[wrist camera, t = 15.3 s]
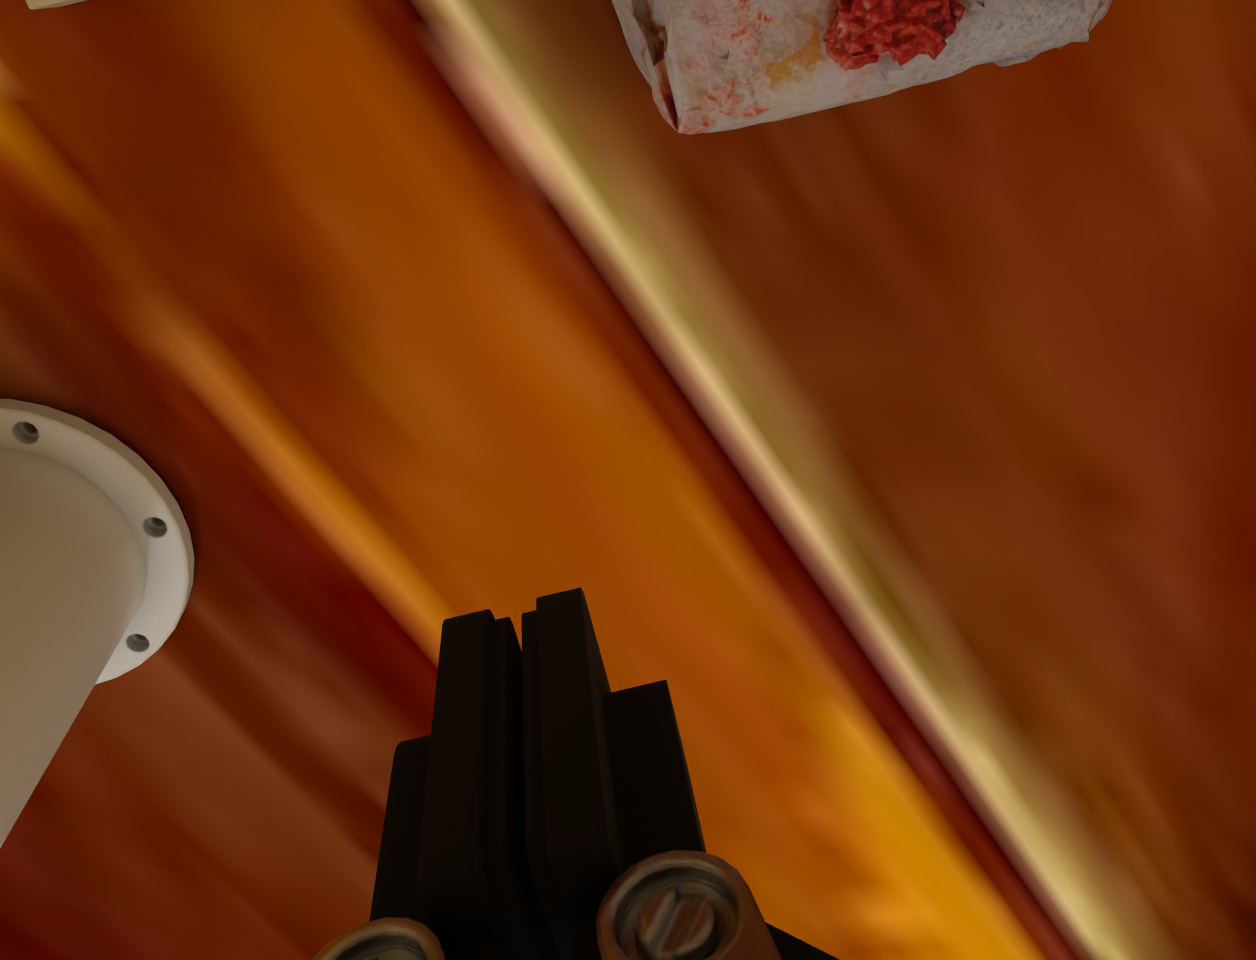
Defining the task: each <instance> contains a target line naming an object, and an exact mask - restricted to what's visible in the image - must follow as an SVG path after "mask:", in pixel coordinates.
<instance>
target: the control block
mask: <svg viewBox="0 0 1256 960" xmlns="http://www.w3.org/2000/svg"><path fill="white" fill-rule="evenodd" d="M82 1H87V0H26V2H27V5H28V7H29V8H30V9H43V8H53V7H61V6H66V5H70V4H74V3H78V2H82Z"/></svg>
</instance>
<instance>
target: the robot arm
mask: <svg viewBox="0 0 1256 960" xmlns="http://www.w3.org/2000/svg"><path fill="white" fill-rule="evenodd" d="M30 424H32V425H33V426H34V427H35V428H34V427H32V426H31V425H30ZM158 518H159V519H161V520H163V521H161V520H159V519H158ZM193 576H194V552H193V547H192V542H191V536H190V531H189V528H188V526H187V524H186V521H185V519H184V516H183V514H182V512H181V509H180V507H179V505H178V503H177V501H176V500H175V498H174V497H173V495H172V494H171V492H170V491H169V489H168V488H167V486H166V485H165V483H164V482H163V480H162V479H161V478H160V477H159V476H158V475H157V474H156V473H155V472H154V471H153V470H152V469H151V467H150V466H149V465H148V464H147V463H146V462H145V461H144V460H143V459H142V458H141V457H140V456H139V455H138V454H136V453H135V452H134V451H132V450H131V449H130V448H128V447H127V446H126V445H125V444H123V443H122V442H121V441H119V440H118V439H117V438H115V437H114V436H113V435H111V434H109V433H107V432H106V431H104V430H102V429H100V428H98V427H96V426H94V425H92V424H91V423H89V422H87V421H85V420H83V419H81V418H79V417H76V416H73V415H71V414H68V413H65V412H62V411H59V410H57V409H54V408H51V407H48V406H45V405H40V404H34V403H29V402H24V401H19V400H14V399H0V848H1V846H2V844H3V842H4V841H5V839H6V837H7V835H8V834H9V832H10V830H11V829H12V827H13V825H14V823H15V822H16V820H17V818H18V816H19V815H20V813H21V811H22V810H23V808H24V806H25V804H26V803H27V801H28V799H29V797H30V796H31V794H32V792H33V791H34V789H35V787H36V785H37V784H38V782H39V780H40V778H41V777H42V775H43V773H44V771H45V770H46V768H47V766H48V765H49V763H50V761H51V759H52V758H53V756H54V754H55V752H56V751H57V749H58V747H59V746H60V744H61V742H62V740H63V739H64V737H65V735H66V733H67V732H68V730H69V728H70V727H71V725H72V723H73V721H74V720H75V718H76V716H77V714H78V713H79V711H80V709H81V707H82V706H83V704H84V702H85V701H86V699H87V697H88V695H89V694H90V692H91V690H92V688H93V687H94V685H95V684H98V683H102V682H105V681H108V680H111V679H114V678H117V677H118V676H120V675H122V674H124V673H126V672H128V671H130V670H131V669H133V668H135V667H137V666H139V665H140V664H142V663H143V662H144V661H145V660H146V659H148V658H149V657H150V656H151V655H152V654H154V653H155V652H156V651H157V650H158V649H160V647H161V646H162V645H163V643H164V642H165V641H166V639H167V638H168V637H169V635H170V634H171V633H172V632H173V630H174V629H175V627H176V625H177V623H178V621H179V619H180V617H181V615H182V613H183V611H184V610H185V608H186V605H187V602H188V598H189V595H190V592H191V588H192V585H193ZM536 608H537V610H535V611H531V612H527V613H523V614H522V651H521V648H520V645H519V642H518V639H517V635H516V632H515V629H514V626H513V624H512V621H511V619H510V618H509V617H506V618H501V619H497V620H495V618H494V616H493V614H492V612H491V611H490V610H489V609H487V610H483V611H479V612H474V613H470V614H466V615H462V616H457V617H453V618H449V619H445V620H444V621H443V625H442V634H441V644H440V653H439V663H438V672H437V682H436V692H435V701H434V711H433V720H432V730H431V735H428V736H424V737H419V738H415V739H411V740H407V741H402V742H400V743H399V744H398V745H397V747H396V750H395V754H394V759H393V766H392V772H391V779H390V786H389V793H388V799H387V806H386V813H385V820H384V826H383V833H382V840H381V847H380V853H379V860H378V867H377V873H376V880H375V887H374V894H373V900H372V907H371V914H370V921H369V922H366V923H363V924H361V925H359V926H357V927H355V928H353V929H351V930H349V931H347V932H345V933H343V934H341V935H339V936H338V937H337V938H336V939H334V940H333V941H332V942H331V943H329V944H328V945H327V946H325V947H324V948H323V949H322V950H320V952H319V953H318V954H317V955H316V956H315V957H314V959H313V960H839V959H837V958H835V957H833V956H831V955H829V954H827V953H825V952H823V951H821V950H819V949H817V948H815V947H813V946H811V945H809V944H807V943H805V942H804V941H802V940H800V939H798V938H796V937H794V936H792V935H790V934H788V933H786V932H784V931H782V930H780V929H778V928H776V927H774V926H772V925H770V924H768V923H766V922H765V921H764V919H763V917H762V915H761V912H760V910H759V908H758V906H757V904H756V902H755V899H754V897H753V895H752V893H751V891H750V889H749V886H748V885H747V883H746V882H745V881H744V879H743V878H742V876H741V875H740V874H739V872H738V871H737V869H735V868H734V867H732V866H731V865H730V864H728V863H727V862H725V861H724V860H722V859H721V858H719V857H717V856H713V855H710V854H707V853H706V849H705V844H704V840H703V835H702V831H701V826H700V821H699V817H698V812H697V808H696V803H695V799H694V794H693V790H692V785H691V781H690V776H689V772H688V768H687V763H686V759H685V755H684V751H683V746H682V742H681V738H680V734H679V730H678V725H677V721H676V717H675V713H674V709H673V705H672V701H671V697H670V693H669V689H668V685H667V681H666V680H662V681H658V682H654V683H650V684H645V685H641V686H637V687H633V688H628V689H624V690H620V691H616V692H611V690H610V686H609V683H608V679H607V675H606V672H605V668H604V665H603V661H602V657H601V654H600V650H599V647H598V643H597V639H596V636H595V632H594V629H593V625H592V621H591V618H590V614H589V610H588V607H587V603H586V600H585V596H584V593H583V591H582V589H581V588H576V589H572V590H568V591H564V592H559V593H555V594H551V595H547V596H542V597H538V598H537V600H536Z"/></svg>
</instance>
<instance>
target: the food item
mask: <svg viewBox="0 0 1256 960" xmlns="http://www.w3.org/2000/svg"><path fill="white" fill-rule="evenodd" d="M612 3H613V5H614V8H615V10H616V13H617V16H618V18H619V21H620V24H621V27H622V30H623V33H624V36H625V39H626V42H627V45H628V47H629V49H630V52H631V54H632V56H633V59H634V61H635V63H636V64H637V66H638V68H639V69H640V71H641V72H642V74H643V76H644V77H645V79H646V80H647V82H648V83H649V85H650V86H651V87H652V94H653V100H654V102H655V104H656V106H657V107H658V109H659V111H660V113H661V115H662V117H663V118H664V119H665V121H666V122H667V123H668V124H669V125H670V126H672V127H673V128H674V129H675V130H676V131H677V132H679V133H684V134H689V135H690V134H697V133H709V132H718V131H726V130H732V129H737V128H742V127H746V126H751V125H755V124H760V123H764V122H771V121H778V120H783V119H787V118H791V117H795V116H799V115H804V114H808V113H812V112H816V111H820V110H824V109H829V108H832V107H836V106H841V105H845V104H849V103H854V102H859V101H864V100H868V99H872V98H876V97H880V96H884V95H888V94H890V93H893V92H896V91H898V90H901V89H904V88H908V87H911V86H916V85H920V84H925V83H929V82H932V81H936V80H940V79H943V78H947V77H951V76H953V75H956V74H959V73H961V72H963V71H965V70H966V69H968V68H970V67H973V66H975V65H979V64H984V63H989V62H994V63H995V64H996V65H998V66H999V67H1003V66H1008V65H1012V64H1017V63H1021V62H1025V61H1029V60H1030V59H1032V58H1033V57H1035V56H1036V55H1038V54H1039V53H1041V52H1043V51H1046V50H1049V49H1052V48H1055V47H1056V48H1062V47H1063V46H1065V45H1066V44H1067V43H1069V42H1088V40H1089V34H1088V33H1089V32H1090V31H1091V29H1092V28H1093V26H1094V25H1096V24H1097V23H1098V22H1099V21H1100V20H1101V19H1102V18H1103V17H1104V16H1105V15H1106V13H1107V11H1108V9H1109V7H1110V5H1111V3H1112V0H612Z"/></svg>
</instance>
